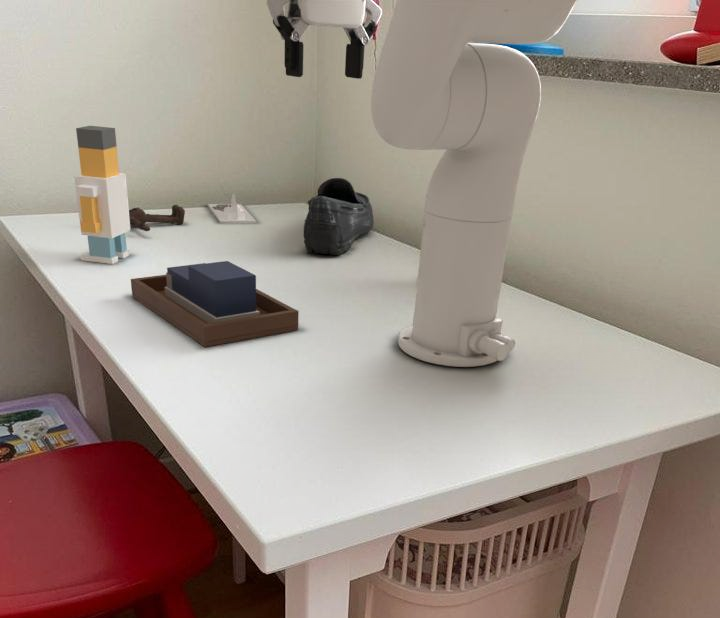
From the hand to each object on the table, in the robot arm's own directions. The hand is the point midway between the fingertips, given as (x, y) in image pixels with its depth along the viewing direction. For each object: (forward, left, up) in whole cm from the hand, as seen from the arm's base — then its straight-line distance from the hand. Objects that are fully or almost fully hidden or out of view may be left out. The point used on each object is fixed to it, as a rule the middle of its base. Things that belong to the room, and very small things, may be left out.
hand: (324, 76), depth 104 cm
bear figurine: (+37, +12, -26) cm, 47 cm away
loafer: (+16, -16, -26) cm, 35 cm away
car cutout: (+40, -7, -27) cm, 49 cm away
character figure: (+20, +25, -26) cm, 42 cm away
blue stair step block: (-10, +23, -26) cm, 36 cm away
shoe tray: (-10, +23, -26) cm, 36 cm away
